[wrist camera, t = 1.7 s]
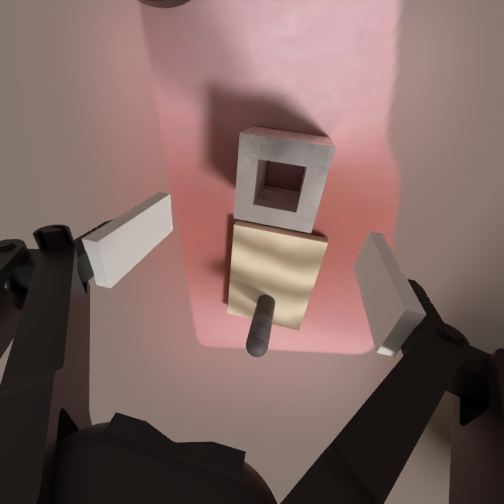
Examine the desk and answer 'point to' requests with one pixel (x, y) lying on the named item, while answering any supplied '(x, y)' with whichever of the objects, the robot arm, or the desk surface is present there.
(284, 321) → the board
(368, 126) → the desk surface
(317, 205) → the gray cube
